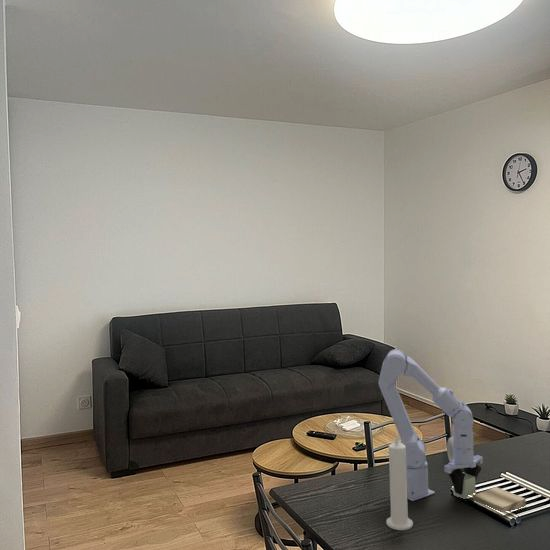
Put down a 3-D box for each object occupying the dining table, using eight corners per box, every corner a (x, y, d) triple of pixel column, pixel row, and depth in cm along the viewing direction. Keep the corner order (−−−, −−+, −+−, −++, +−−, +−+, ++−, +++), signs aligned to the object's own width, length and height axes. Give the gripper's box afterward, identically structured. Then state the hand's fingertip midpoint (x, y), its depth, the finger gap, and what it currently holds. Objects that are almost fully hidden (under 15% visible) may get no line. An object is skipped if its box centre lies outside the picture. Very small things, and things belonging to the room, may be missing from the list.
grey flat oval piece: (464, 471, 190) (464, 441, 190) (454, 471, 191) (453, 442, 190) (455, 460, 200) (455, 432, 200) (446, 460, 201) (445, 432, 200)
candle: (394, 515, 161) (391, 428, 160) (417, 522, 156) (414, 432, 155) (381, 525, 156) (378, 435, 154) (405, 533, 151) (402, 440, 150)
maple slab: (502, 518, 158) (502, 507, 158) (473, 505, 167) (473, 495, 167) (525, 508, 163) (525, 498, 163) (496, 496, 172) (496, 486, 172)
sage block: (465, 500, 169) (464, 480, 169) (453, 495, 173) (453, 475, 172) (475, 496, 171) (475, 476, 171) (463, 491, 175) (463, 472, 175)
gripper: (456, 455, 164) (458, 502, 165) (490, 445, 172) (491, 489, 172) (438, 448, 170) (439, 493, 171) (471, 439, 178) (472, 482, 178)
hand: (464, 491), depth 172 cm, fingers closed on sage block, 4 cm apart
